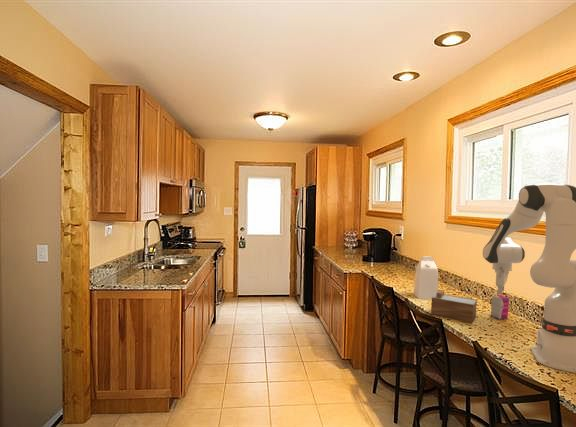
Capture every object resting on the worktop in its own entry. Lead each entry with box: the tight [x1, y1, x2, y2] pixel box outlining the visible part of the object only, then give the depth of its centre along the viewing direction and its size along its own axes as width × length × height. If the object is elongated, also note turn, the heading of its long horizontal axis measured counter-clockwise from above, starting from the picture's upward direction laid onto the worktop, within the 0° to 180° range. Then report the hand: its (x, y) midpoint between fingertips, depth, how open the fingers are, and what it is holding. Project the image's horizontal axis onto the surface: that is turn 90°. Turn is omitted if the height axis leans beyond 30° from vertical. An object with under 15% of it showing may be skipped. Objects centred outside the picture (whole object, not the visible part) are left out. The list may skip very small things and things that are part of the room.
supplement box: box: [490, 294, 510, 320], centre depth 188 cm, size 6×6×12 cm
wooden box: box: [430, 294, 478, 324], centre depth 189 cm, size 12×20×9 cm, turn 54°
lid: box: [432, 289, 477, 305], centre depth 189 cm, size 9×20×4 cm, turn 54°
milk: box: [413, 255, 439, 300], centre depth 226 cm, size 12×12×26 cm
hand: (501, 292), depth 188 cm, fingers open, 8 cm apart
